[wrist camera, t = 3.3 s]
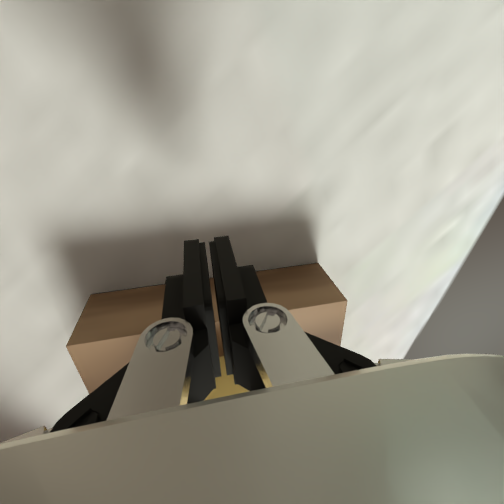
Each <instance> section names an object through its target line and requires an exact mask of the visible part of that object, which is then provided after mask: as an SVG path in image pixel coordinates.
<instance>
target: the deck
mask: <svg viewBox="0 0 504 504" xmlns="http://www.w3.org/2000/svg"><path fill="white" fill-rule="evenodd" d="M256 274H257V277H258V279H259V282H260V284H261V287H262V290H263V292H264V295H265V297H266V300H267V303H274V304H278V305H281V306H283V307H285V308H286V309H287V310H288V311H289V312H290V313H291V314H292V316H293V317H294V318H295V320H296V321H297V322H298V324H299V325H300V327H301V328H302V329H303V331H304V332H307V333H309V334H311V335H314V336H316V337H319V338H321V339H324V340H326V341H328V342H331V343H333V344H336V345H338V346H340V344H341V338H342V332H343V325H344V319H345V312H346V306H347V299H346V298H345V297H344V296H343V294H342V293H341V292H340V290H339V289H338V288H337V287H336V285H335V284H334V283H333V281H332V280H331V279H330V278H329V276H328V275H327V274H326V272H325V271H324V270H323V268H322V267H321V266H320V265H319V263H314V264H307V265H300V266H293V267H286V268H278V269H271V270H264V271H257V272H256ZM209 280H210V287H211V295H212V303H213V311H214V319H215V327H216V335H217V343H218V351H219V357H222V356H224V352H223V345H222V337H221V330H220V323H219V316H218V309H217V302H216V294H215V286H214V278H209ZM164 292H165V284H164V285H156V286H149V287H142V288H135V289H128V290H120V291H113V292H106V293H99V294H92V295H90V297H89V299H88V301H87V304H86V306H85V308H84V310H83V312H82V314H81V316H80V318H79V320H78V322H77V324H76V327H75V329H74V331H73V333H72V335H71V337H70V339H69V341H68V343H67V345H66V347H67V349H68V351H69V353H70V355H71V358H72V360H73V362H74V364H75V366H76V368H77V370H78V372H79V374H80V376H81V378H82V380H83V382H84V384H85V386H86V388H87V390H88V392H89V394H90V393H92V392H93V391H94V390H95V389H97V388H98V387H99V386H100V385H102V384H103V383H104V382H105V381H107V380H108V379H109V378H110V377H111V376H113V375H114V374H115V373H116V372H118V371H119V370H120V369H121V368H123V367H124V366H125V365H126V364H128V363H129V362H130V360H131V357H132V355H133V352H134V350H135V347H136V345H137V342H138V340H139V337H140V336H141V334H142V332H143V331H144V330H145V329H146V328H147V327H148V326H149V325H151V324H153V323H154V322H156V321H159V320H161V318H162V310H163V301H164Z"/></svg>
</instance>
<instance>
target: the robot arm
mask: <svg viewBox="0 0 504 504" xmlns="http://www.w3.org/2000/svg"><path fill="white" fill-rule="evenodd" d="M209 245H210V253H211V261H212V269H213V278H214V286H215V294H216V302H217V309H218V316H219V323H220V330H221V337H222V345H223V352H224V359H225V366H226V373H227V375H232V374H233V376H234V382H235V385H236V384H238V385H240V386H242V387H243V388H245V389H247V391H248V392H244V393H239V394H234V395H229V396H224V397H219V398H214V399H209V400H206V399H205V398H206V397H207V396H208V395H209V394H210V393H211V391H212V390H213V389H216V381H215V378H216V377H221V368H220V360H219V351H218V343H217V335H216V327H215V319H214V311H213V303H212V295H211V287H210V280H209V272H208V264H207V257H206V249H205V242H203V243H199V239H197V240H188V241H184V272H183V275H176V276H168V277H166V283H165V292H164V301H163V310H162V318H161V320H159V321H156V322H154V323H153V324H151V325H149V326H148V327H147V328H146V329H145V330H144V331H143V332H142V334H141V336H140V337H139V340H138V342H137V345H136V347H135V350H134V352H133V355H132V357H131V360H130V362H129V363H128V364H126V365H125V366H124V367H123V368H121V369H120V370H119V371H118V372H116V373H115V374H114V375H113V376H111V377H110V378H109V379H108V380H107V381H105V382H104V383H103V384H102V385H100V386H99V387H98V388H97V389H95V390H94V391H93V392H92V393H90V394H89V395H88V396H87V397H85V398H84V399H83V400H82V401H80V402H79V403H78V404H77V405H76V406H74V407H73V408H72V409H71V410H69V411H68V412H67V413H66V414H65V415H64V416H63V417H62V418H61V419H59V420H58V421H57V423H56V424H55V425H54V427H53V428H51V429H48V430H47V429H46V427H45V426H42V427H40V428H37V429H35V430H32V431H29V432H27V433H24V434H22V435H19V436H17V437H14V438H11V439H9V440H6V441H4V442H1V443H0V504H504V356H501V355H494V354H456V355H443V356H436V357H430V358H422V359H379V361H378V363H373V362H372V361H371V360H370V359H368V358H366V357H364V356H362V355H360V354H357V353H355V352H353V351H350V350H348V349H345V348H343V347H340V346H338V345H336V344H333V343H331V342H328V341H326V340H324V339H321V338H319V337H316V336H314V335H311V334H309V333H307V332H304V331H303V329H302V328H301V327H300V325H299V324H298V322H297V321H296V320H295V318H294V317H293V316H292V314H291V313H290V312H289V311H288V310H287V309H286V308H285V307H283V306H281V305H278V304H274V303H267V300H266V297H265V295H264V292H263V290H262V287H261V284H260V282H259V279H258V277H257V274H256V271H255V269H254V267H253V265H249V266H242V267H237V264H236V261H235V257H234V254H233V251H232V247H231V244H230V240H229V237H228V236H222V237H214V241H211V242H209Z"/></svg>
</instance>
